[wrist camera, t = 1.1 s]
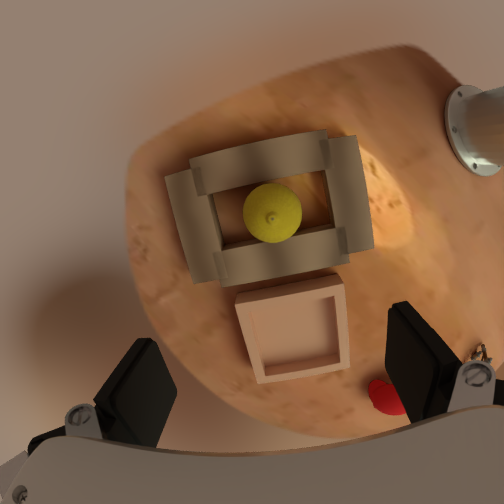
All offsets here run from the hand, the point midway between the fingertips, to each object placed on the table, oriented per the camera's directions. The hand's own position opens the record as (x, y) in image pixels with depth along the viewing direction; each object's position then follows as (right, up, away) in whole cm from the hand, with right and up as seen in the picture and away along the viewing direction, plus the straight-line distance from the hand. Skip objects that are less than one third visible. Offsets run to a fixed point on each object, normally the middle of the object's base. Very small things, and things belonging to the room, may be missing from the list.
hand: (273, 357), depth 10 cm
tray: (+5, -5, +23) cm, 24 cm away
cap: (+21, -17, +26) cm, 37 cm away
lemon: (+1, +9, +20) cm, 22 cm away
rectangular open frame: (+1, +9, +20) cm, 22 cm away
